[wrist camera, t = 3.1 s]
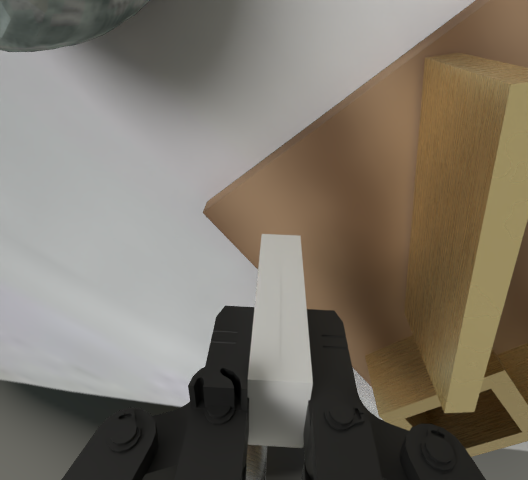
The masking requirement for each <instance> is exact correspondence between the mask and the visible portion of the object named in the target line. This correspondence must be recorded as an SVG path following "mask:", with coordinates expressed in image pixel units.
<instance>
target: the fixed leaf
mask: <svg viewBox="0 0 528 480" xmlns="http://www.w3.org/2000/svg"><path fill="white" fill-rule="evenodd" d="M365 358H366V363H367V367H368V371H369V375H370V380H371V384H372V388H373V393H374V397H375V401H376V405H377V410H378V414H379V416H380V417H381V418H382V419H383V420H384V421H385V422H387V423H389V424H392V425H395V426H398V427H400V428H403V429H406V430H408V431H410V429H411V428H412V427H414V426H416V425H419V424H433V425H436V426H439V427H441V428H444V429H445V430H447V431H448V432H450V433H451V434H452V435H454V436H455V437H456V438H457V439H458V440H459V441H460V443H461V444H462V445H463V446H464V447H465V449H466V450H467V452H468V453H469V455H470V456H471V457H472V456H476V455H480V454H483V453H487V452H490V451H494V450H497V449H501V448H504V447H508V446H511V445H515V444H518V443H522V442H525V441H528V343H527V344H524V345H521V346H519V347H516V348H513V349H511V350H508V351H505V352H503V353H500V354H496V353H495V351H494V349H493V348H492V350H491V354H490V357H489V361H488V365H487V368H486V372H485V375H484V379H483V383H482V386H481V390H480V393H479V397H478V401H477V404H476V408H475V411H474V412H462V413H444V411H443V409H442V406H441V404H440V401H439V399H438V396H437V394H436V391H435V389H434V386H433V384H432V381H431V379H430V376H429V374H428V371H427V369H426V366H425V364H424V361H423V359H422V356H421V354H420V351H419V349H418V346H417V344H416V341H415V339H414V336H413V335H411V336H409V337H407V338H404V339H402V340H400V341H398V342H395V343H393V344H391V345H388V346H386V347H384V348H381V349H379V350H377V351H375V352H372V353H370V354H368V355H365Z"/></svg>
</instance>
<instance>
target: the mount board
mask: <svg viewBox="0 0 528 480" xmlns="http://www.w3.org/2000/svg"><path fill="white" fill-rule="evenodd" d="M454 53H463V54H467V55H472V56H476V57H481V58H485V59H490V60H494V61H499V62H504V63H508V64H513V65H517V66H522V67H526V68H528V0H476V1H475V2H473V3H472V4H471V5H469V6H468V7H467V8H465V9H464V10H463V11H461V12H460V13H459V14H457V15H456V16H455V17H453V18H452V19H451V20H449V21H448V22H447V23H445V24H444V25H443V26H441V27H440V28H439V29H437V30H436V31H434V32H433V33H432V34H430V35H429V36H428V37H426V38H425V39H424V40H422V41H421V42H420V43H418V44H417V45H416V46H414V47H413V48H412V49H410V50H409V51H408V52H406V53H405V54H404V55H402V56H401V57H400V58H398V59H397V60H396V61H394V62H393V63H392V64H390V65H389V66H388V67H386V68H385V69H384V70H382V71H381V72H380V73H378V74H377V75H376V76H374V77H373V78H372V79H370V80H369V81H368V82H366V83H365V84H364V85H362V86H361V87H360V88H358V89H357V90H356V91H354V92H353V93H352V94H350V95H349V96H348V97H346V98H345V99H344V100H342V101H341V102H340V103H338V104H337V105H336V106H334V107H333V108H332V109H330V110H329V111H328V112H326V113H325V114H324V115H322V116H321V117H320V118H318V119H317V120H316V121H314V122H313V123H312V124H310V125H309V126H308V127H306V128H305V129H304V130H302V131H301V132H300V133H298V134H297V135H296V136H294V137H293V138H292V139H290V140H289V141H288V142H286V143H285V144H284V145H282V146H281V147H280V148H278V149H277V150H276V151H274V152H273V153H272V154H270V155H269V156H268V157H266V158H265V159H264V160H262V161H261V162H260V163H258V164H257V165H256V166H254V167H253V168H252V169H250V170H249V171H248V172H246V173H245V174H244V175H242V176H241V177H240V178H238V179H237V180H236V181H234V182H233V183H232V184H230V185H229V186H228V187H226V188H225V189H224V190H222V191H221V192H220V193H218V194H217V195H216V196H214V197H213V198H212V199H210V200H209V201H208V202H207V203H206V206H205V208H204V211H203V213H204V214H205V215H206V217H207V218H208V219H209V220H210V221H211V222H212V223H213V224H214V225H215V226H216V227H217V228H218V229H219V230H220V231H221V232H222V233H223V234H224V235H225V236H226V237H227V238H228V239H229V240H230V241H231V242H232V243H233V244H234V245H235V246H236V247H237V248H238V250H239V251H240V252H241V253H242V254H243V255H244V256H245V257H246V258H247V259H248V260H249V261H250V262H251V263H252V264H253V265H254V266H255V267H256V268H257V269H258V267H259V256H260V246H261V236H262V234H276V235H297V236H301V248H302V260H303V272H304V284H305V295H306V307H307V309H315V310H334V311H335V312H336V313H337V315H338V316H339V317H340V319H341V320H342V321H343V324H344V329H345V334H346V339H347V344H348V350H349V354H350V359H351V363H352V367H353V368H354V369H355V370H356V371H357V372H358V373H359V374H360V375H361V376H362V377H363V378H364V379H365V380H366V381H367V383H368V384H369V385H370V386H371V387H372V384H371V380H370V375H369V371H368V367H367V363H366V358H365V355H368V354H370V353H372V352H375V351H377V350H379V349H381V348H384V347H386V346H388V345H391V344H393V343H395V342H398V341H400V340H402V339H404V338H407V337H409V336H411V335H413V334H412V331H411V329H410V326H409V324H408V321H407V319H406V316H405V314H404V309H405V297H406V285H407V272H408V260H409V248H410V236H411V223H412V211H413V199H414V187H415V174H416V162H417V150H418V138H419V125H420V113H421V101H422V89H423V76H424V64H425V58H427V57H434V56H440V55H447V54H454ZM527 343H528V220H527V224H526V227H525V231H524V235H523V238H522V242H521V245H520V249H519V253H518V256H517V260H516V263H515V267H514V271H513V274H512V278H511V282H510V285H509V289H508V292H507V296H506V300H505V303H504V307H503V310H502V314H501V318H500V321H499V325H498V328H497V332H496V336H495V339H494V343H493V346H492V348H493V349H494V351H495V353H496V354H500V353H503V352H505V351H508V350H511V349H513V348H516V347H519V346H521V345H524V344H527Z"/></svg>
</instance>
